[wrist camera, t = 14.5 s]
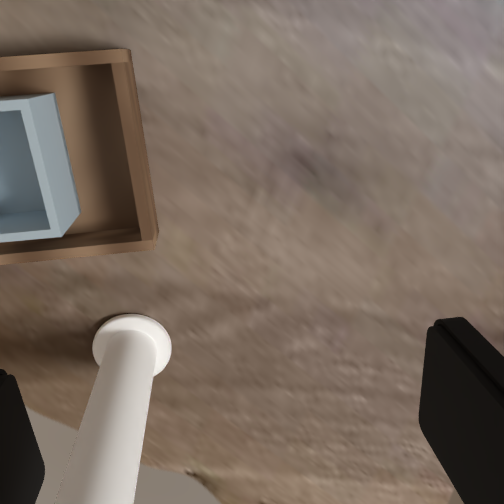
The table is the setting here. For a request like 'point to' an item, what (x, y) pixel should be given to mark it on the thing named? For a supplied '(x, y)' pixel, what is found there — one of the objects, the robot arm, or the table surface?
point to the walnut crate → (91, 152)
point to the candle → (115, 412)
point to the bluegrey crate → (34, 170)
